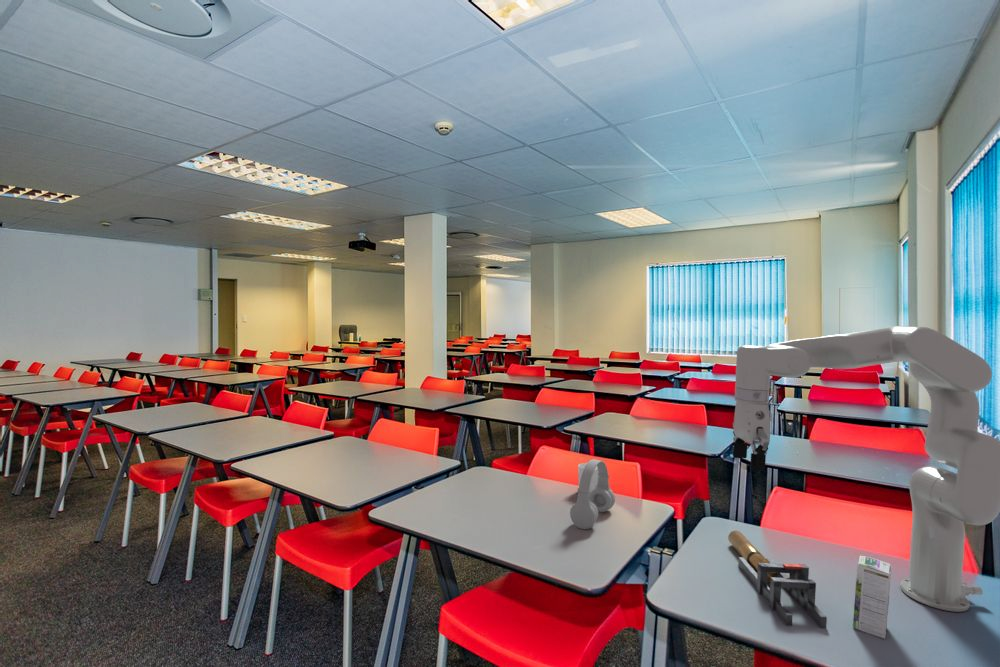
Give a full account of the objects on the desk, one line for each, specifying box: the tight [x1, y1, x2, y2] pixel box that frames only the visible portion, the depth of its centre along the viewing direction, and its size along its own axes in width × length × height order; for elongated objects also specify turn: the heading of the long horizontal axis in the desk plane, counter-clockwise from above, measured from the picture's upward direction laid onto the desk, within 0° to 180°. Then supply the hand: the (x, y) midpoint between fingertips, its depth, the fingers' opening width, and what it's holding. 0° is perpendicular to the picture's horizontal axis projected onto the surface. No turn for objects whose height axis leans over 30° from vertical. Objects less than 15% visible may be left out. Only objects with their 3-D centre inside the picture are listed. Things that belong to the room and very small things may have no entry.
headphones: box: [569, 458, 616, 530], centre depth 159 cm, size 20×8×19 cm, turn 148°
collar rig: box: [737, 556, 828, 629], centre depth 118 cm, size 9×25×9 cm, turn 176°
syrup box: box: [852, 555, 892, 639], centre depth 106 cm, size 6×6×14 cm
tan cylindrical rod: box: [727, 530, 778, 584], centre depth 133 cm, size 20×4×4 cm, turn 176°
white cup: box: [577, 462, 599, 494], centre depth 182 cm, size 8×8×10 cm
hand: (748, 463), depth 120 cm, fingers open, 9 cm apart
